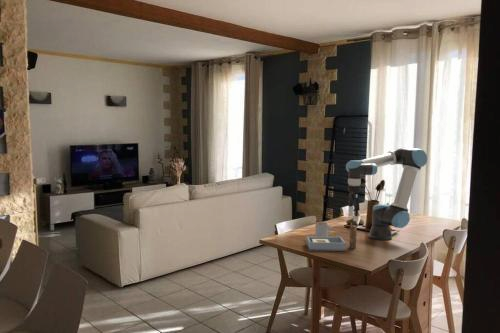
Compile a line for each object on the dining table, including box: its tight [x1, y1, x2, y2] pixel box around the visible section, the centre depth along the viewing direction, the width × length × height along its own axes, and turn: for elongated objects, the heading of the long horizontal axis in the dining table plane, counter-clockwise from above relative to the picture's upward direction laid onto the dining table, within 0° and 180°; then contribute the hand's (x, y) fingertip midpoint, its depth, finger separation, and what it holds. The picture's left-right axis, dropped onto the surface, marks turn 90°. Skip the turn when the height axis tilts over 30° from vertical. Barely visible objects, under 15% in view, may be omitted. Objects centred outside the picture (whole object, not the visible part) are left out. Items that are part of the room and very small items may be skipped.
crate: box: [306, 236, 347, 252], centre depth 252 cm, size 22×14×5 cm, turn 89°
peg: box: [348, 225, 358, 250], centre depth 251 cm, size 4×4×14 cm
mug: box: [314, 221, 332, 237], centre depth 272 cm, size 12×8×11 cm
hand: (353, 218), depth 251 cm, fingers open, 13 cm apart
